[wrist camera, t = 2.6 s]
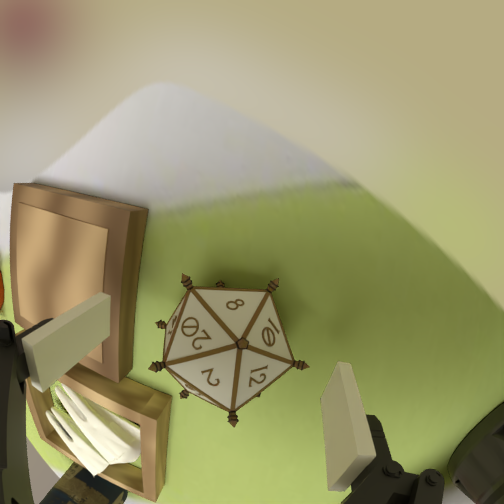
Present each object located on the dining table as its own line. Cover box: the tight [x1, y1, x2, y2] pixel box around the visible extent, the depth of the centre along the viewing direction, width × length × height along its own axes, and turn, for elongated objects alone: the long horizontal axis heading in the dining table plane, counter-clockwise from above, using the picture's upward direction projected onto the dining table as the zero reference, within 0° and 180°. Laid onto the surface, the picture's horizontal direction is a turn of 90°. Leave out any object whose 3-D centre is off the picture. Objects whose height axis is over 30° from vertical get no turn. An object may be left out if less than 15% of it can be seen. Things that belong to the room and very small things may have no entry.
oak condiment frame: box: [15, 329, 172, 502], centre depth 23 cm, size 18×18×4 cm
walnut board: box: [10, 183, 148, 383], centre depth 20 cm, size 14×14×3 cm
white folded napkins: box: [46, 383, 141, 476], centre depth 23 cm, size 12×4×11 cm
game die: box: [148, 273, 309, 427], centre depth 16 cm, size 9×8×10 cm
